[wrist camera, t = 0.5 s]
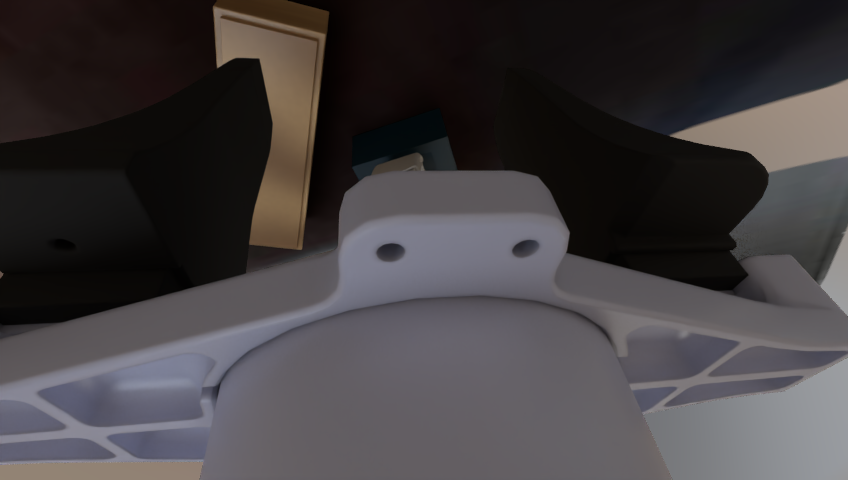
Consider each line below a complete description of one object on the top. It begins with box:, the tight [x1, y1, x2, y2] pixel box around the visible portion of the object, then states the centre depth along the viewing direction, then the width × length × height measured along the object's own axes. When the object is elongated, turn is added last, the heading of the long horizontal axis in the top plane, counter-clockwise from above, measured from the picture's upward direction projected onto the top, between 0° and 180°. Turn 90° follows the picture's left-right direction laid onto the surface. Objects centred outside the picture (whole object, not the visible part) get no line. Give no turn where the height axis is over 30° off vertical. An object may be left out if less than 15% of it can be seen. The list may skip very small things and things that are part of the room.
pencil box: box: [213, 0, 329, 250], centre depth 23 cm, size 14×4×3 cm, turn 164°
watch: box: [352, 108, 458, 181], centre depth 22 cm, size 6×8×11 cm
